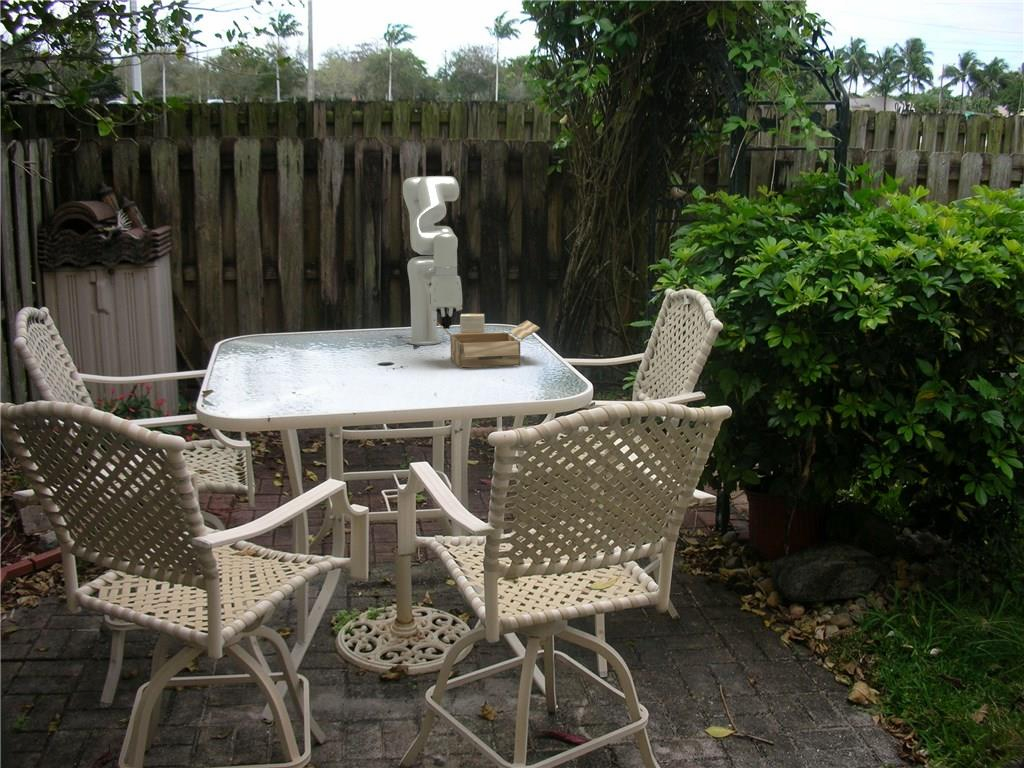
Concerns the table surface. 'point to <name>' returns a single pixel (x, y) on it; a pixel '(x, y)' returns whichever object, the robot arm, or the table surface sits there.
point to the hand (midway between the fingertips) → (446, 328)
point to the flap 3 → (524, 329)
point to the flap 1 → (445, 330)
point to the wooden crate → (461, 361)
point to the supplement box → (472, 323)
